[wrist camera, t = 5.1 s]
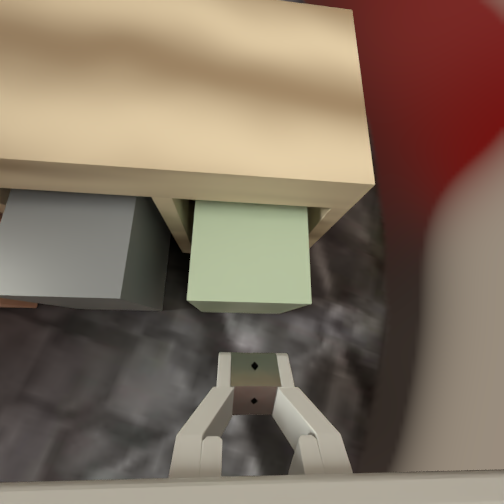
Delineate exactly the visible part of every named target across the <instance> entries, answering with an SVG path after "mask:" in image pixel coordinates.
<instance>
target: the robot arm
mask: <svg viewBox="0 0 504 504" xmlns="http://www.w3.org/2000/svg"><path fill="white" fill-rule="evenodd" d="M251 414H254V415H272V416H273V418H274V420H275V421H276V423H277V424H278V426H279V427H280V429H281V431H282V432H283V434H284V435H285V437H286V438H287V440H288V442H289V443H290V445H291V446H292V448H293V450H294V451H295V453H294V456H293V459H292V462H291V465H290V468H289V472H288V473H289V475H270V476H232V477H221V464H222V439H221V438H220V437H221V436H222V434H223V432H224V430H225V428H226V426H227V425H228V423H229V421H230V419H231V417H232V415H251ZM0 504H504V470H465V471H426V472H390V473H389V472H388V473H353V472H352V468H351V465H350V462H349V459H348V456H347V453H346V450H345V447H344V444H343V441H342V437H341V434H340V433H339V432H338V431H337V430H336V429H335V427H334V426H333V425H332V424H331V423H330V422H329V421H328V420H327V419H326V417H325V416H324V415H323V414H322V413H321V412H320V411H319V410H318V409H317V407H316V406H315V405H314V404H313V403H312V402H311V401H310V400H309V399H308V397H307V396H306V395H305V394H304V393H303V392H302V391H301V390H300V389H299V387H295V385H294V380H293V376H292V371H291V367H290V362H289V357H288V355H287V353H234V352H219V359H218V373H217V387H213V388H212V389H211V390H210V392H209V393H208V394H207V396H206V397H205V398H204V400H203V401H202V402H201V404H200V405H199V406H198V408H197V409H196V410H195V412H194V413H193V414H192V415H191V417H190V418H189V419H188V421H187V422H186V423H185V425H184V426H183V427H182V429H181V430H180V431H179V433H178V434H177V435H176V440H175V446H174V451H173V456H172V462H171V467H170V472H169V477H168V478H156V479H118V480H79V481H39V482H0Z"/></svg>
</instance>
